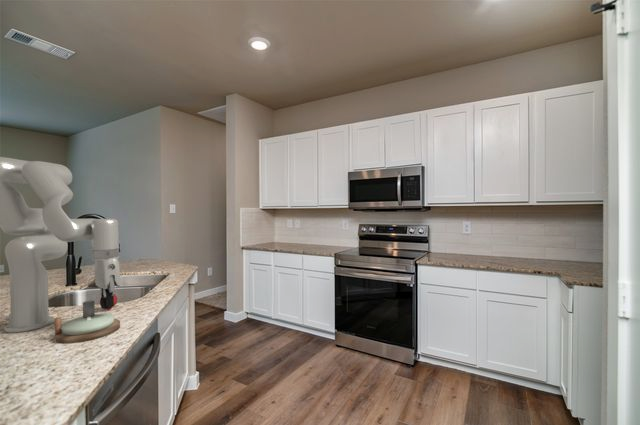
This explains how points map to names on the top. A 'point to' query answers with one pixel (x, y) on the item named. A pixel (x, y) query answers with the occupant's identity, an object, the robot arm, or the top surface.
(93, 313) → the turntable
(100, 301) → the onion
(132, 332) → the top surface
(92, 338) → the base plate
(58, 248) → the robot arm
